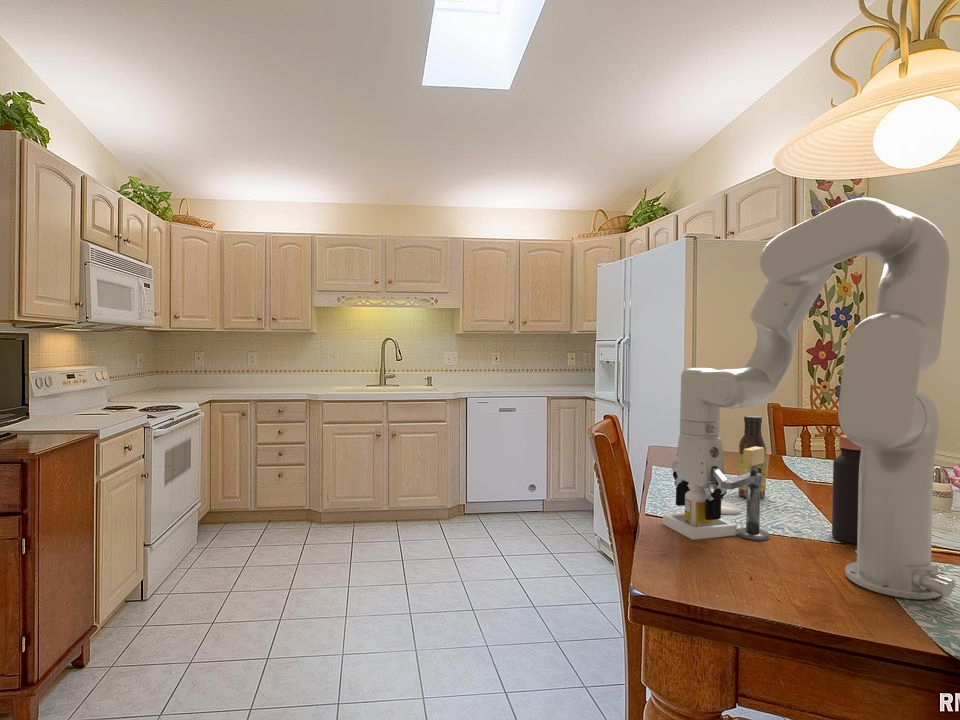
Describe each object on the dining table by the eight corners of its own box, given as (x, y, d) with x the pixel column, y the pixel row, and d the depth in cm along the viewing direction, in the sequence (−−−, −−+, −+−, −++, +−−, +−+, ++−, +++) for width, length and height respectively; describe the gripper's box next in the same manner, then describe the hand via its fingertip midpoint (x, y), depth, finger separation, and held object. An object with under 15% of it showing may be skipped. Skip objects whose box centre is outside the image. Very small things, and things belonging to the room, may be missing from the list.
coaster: (748, 513, 130) (748, 509, 130) (718, 515, 128) (718, 512, 128) (724, 503, 138) (724, 500, 138) (695, 505, 135) (695, 502, 135)
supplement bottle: (717, 529, 118) (717, 482, 118) (706, 535, 115) (707, 487, 114) (691, 523, 122) (691, 478, 122) (680, 529, 118) (680, 482, 118)
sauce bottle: (762, 500, 140) (763, 418, 139) (734, 496, 144) (736, 416, 143) (768, 495, 145) (769, 416, 144) (741, 491, 149) (742, 414, 148)
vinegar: (833, 531, 117) (835, 433, 117) (873, 538, 113) (876, 436, 113) (830, 541, 112) (832, 437, 111) (873, 548, 108) (875, 440, 107)
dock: (736, 535, 115) (736, 525, 115) (692, 539, 112) (692, 529, 112) (704, 520, 124) (704, 511, 124) (663, 524, 122) (663, 514, 122)
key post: (776, 539, 113) (777, 488, 112) (750, 541, 111) (751, 490, 111) (754, 529, 118) (755, 480, 118) (729, 532, 117) (730, 482, 116)
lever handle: (766, 483, 115) (767, 448, 115) (733, 494, 106) (734, 456, 106) (751, 480, 117) (752, 445, 117) (718, 491, 108) (718, 454, 108)
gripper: (744, 435, 110) (742, 523, 111) (689, 421, 127) (687, 499, 128) (711, 436, 109) (708, 526, 109) (659, 423, 125) (657, 501, 126)
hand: (697, 511), depth 119 cm, fingers open, 9 cm apart
